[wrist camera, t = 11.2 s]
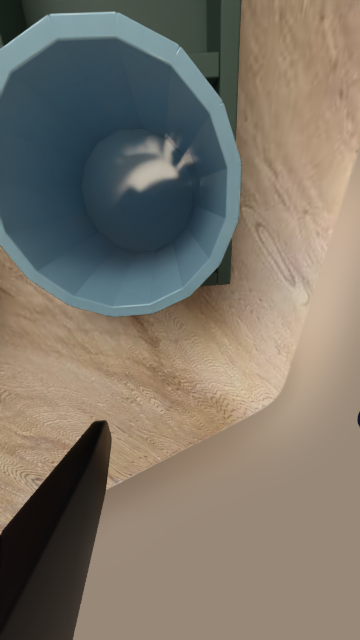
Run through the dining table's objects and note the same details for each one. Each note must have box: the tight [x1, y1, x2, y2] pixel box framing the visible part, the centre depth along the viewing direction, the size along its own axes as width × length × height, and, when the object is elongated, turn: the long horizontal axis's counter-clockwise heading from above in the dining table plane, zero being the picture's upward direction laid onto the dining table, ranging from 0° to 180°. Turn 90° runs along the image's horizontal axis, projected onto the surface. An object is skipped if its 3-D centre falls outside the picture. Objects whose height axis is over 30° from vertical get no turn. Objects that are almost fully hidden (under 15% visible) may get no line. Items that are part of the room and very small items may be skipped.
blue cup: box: [0, 11, 242, 317], centre depth 11 cm, size 7×7×9 cm
